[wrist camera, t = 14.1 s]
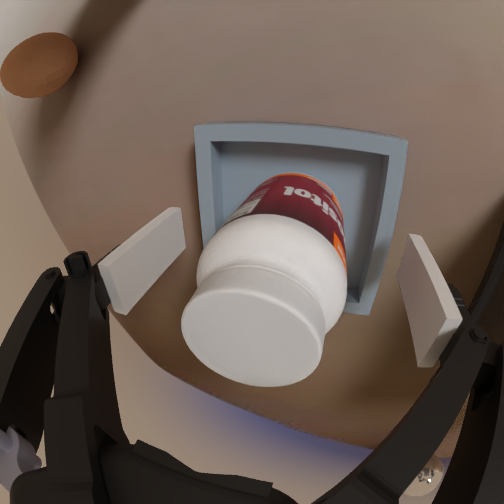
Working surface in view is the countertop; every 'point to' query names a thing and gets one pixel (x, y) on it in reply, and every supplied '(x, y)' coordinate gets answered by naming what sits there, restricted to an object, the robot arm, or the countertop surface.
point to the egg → (39, 65)
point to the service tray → (319, 166)
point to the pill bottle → (270, 284)
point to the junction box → (491, 297)
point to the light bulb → (426, 478)
